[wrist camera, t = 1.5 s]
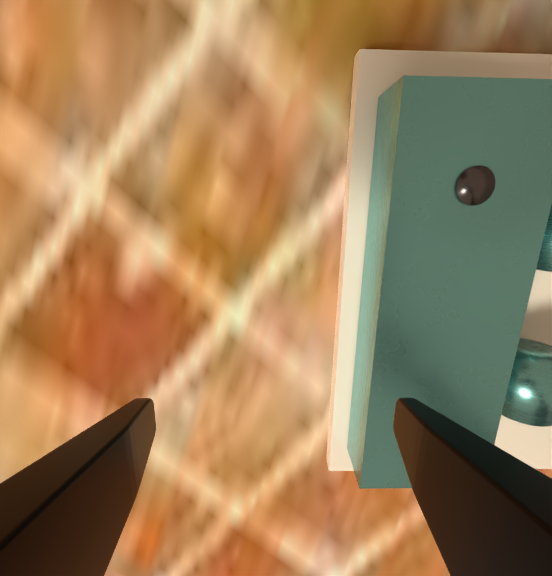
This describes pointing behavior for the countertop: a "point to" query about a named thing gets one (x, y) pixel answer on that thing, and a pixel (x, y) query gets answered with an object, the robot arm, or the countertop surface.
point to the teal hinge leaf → (452, 262)
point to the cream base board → (365, 91)
